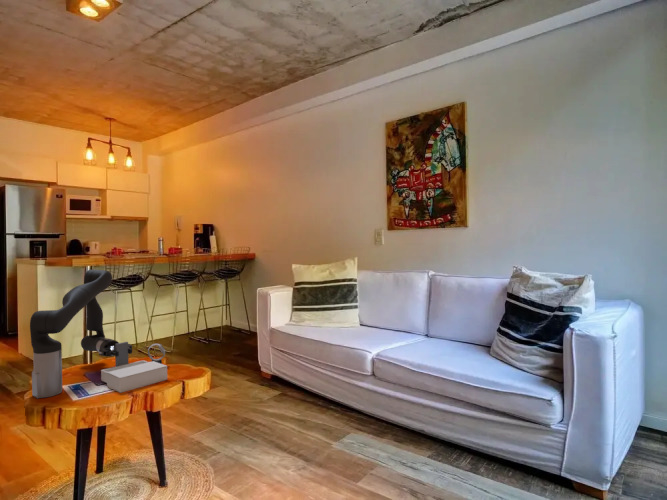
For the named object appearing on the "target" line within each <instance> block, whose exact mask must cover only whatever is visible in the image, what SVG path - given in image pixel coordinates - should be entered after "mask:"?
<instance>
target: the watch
mask: <svg viewBox="0 0 667 500" xmlns="http://www.w3.org/2000/svg"><path fill="white" fill-rule="evenodd" d="M154 346H157V348H158V350H159V351H160V352H161V353H162V356H161V357H159V358H153V356H152V355H151V353H150V349H151V348H152V347H154ZM166 352H167V351H166V349H165V348H164V347H163V344H162V343H153V344H151V345H150V346H149V347H148V348H147V355H148V357H149V359H150V360H151V362H152V361H154V362H157V363H160V364H163V361H162V359H163V358H164V357H165V355H166Z"/></svg>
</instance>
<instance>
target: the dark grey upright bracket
mask: <svg viewBox="0 0 667 500" xmlns="http://www.w3.org/2000/svg"><path fill="white" fill-rule="evenodd" d="M128 344H129V342H128V341H123V342H119V343H117V344H115V350H116V351H118V352H119V356H118V357H116V356H114V357H115V366H112V367H109V368H104V369H100V372H101V373H100V380H101V381H102V382H104V383H106V384H107V372H110V371H114V370H118V369H122V368H127V367H131V366H135V365H139V364H143V363H148V362H149V361H147V360H144V359H143V360H138V361H135V362H130V363H129V353H128Z"/></svg>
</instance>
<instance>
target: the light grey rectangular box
mask: <svg viewBox="0 0 667 500" xmlns="http://www.w3.org/2000/svg"><path fill="white" fill-rule="evenodd" d="M147 362H148V363H143V364H139V365H135V366H131V367H127V368H122V369H118V370H114V371H110V372H107V383H106V384H107V385H106V387H107V388H109V389H112V390H114V391H116V392H118V393H124V392H128V391H132V390H135V389H139V388H143V387H147V386H149V385H153V384H156V383H159V382H165V381H166V380H168V365H166V364H163V363H162V364H160V363H157V362H154V361H152V360H151V361H147Z"/></svg>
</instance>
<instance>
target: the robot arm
mask: <svg viewBox="0 0 667 500" xmlns="http://www.w3.org/2000/svg"><path fill="white" fill-rule="evenodd" d="M112 281H113V274H112V273H111V272H110V271H108V270H103V269H102V270H101V269H88V270H87V271H86V272H85V273H84V277H83V284H79V285H77V286H74V287H73V288H71V289H69V290H68V292H67V293H65V294H64V295H63V297H62V300H61V301H62V302H61V303H62V307H61V308H59V309H55V310H53V309H52V310H51V309H50V310H37V311H34V312H33V313H32V315H31V317H30V319H29V331H30V341H31V342H30V343H31V347H32V352H33V353H32V354H33V355H32V357H33V358H32V359H33V370H32V371H31V381H32V382H31V387H32V389H31V391H32V392H31V393H32V396H33V397H34V398H36V399H42V398H50V397H54V396H57V395H59V394H61V393H62V392H63V362H62V361H63V359H62V357H63V353H62V352H63V351H62V350H63V349H62V348H63V347H62V342H61V341H59V340H57V339H54V338H52V337H51V336H50V334H51V335H53V334H59V333H61V332H62V331H64V329H66V327H67V326H68V325H69V323H70V322H71V321H72V320H73V319H74V317H75V316H76V315H77V314H78V313H79V312H80V311H81V310H83V308H85V307H86V321H85V322H86V324H85V329H86V330H87V331H88V332H89V331H90V332H96V334H91V335H90V334H89V335H86V336H84V337H82V339H81V341H80V346H81V347H82V349H83V350H84V351H86V352H97V353H98V355H99V356H101V357H109V358H110V357H115V356H116V357H118V356H119V352H118V351H116V350H115V344H117V343H120V342H118V340H114V339H112V338H108V337H106V336H105V332H104V326H103V323H104V314H103V313H104V311H103V309H102V306H100V304H99V302H98V300H97V298H96V297H97V296H98V295H100V294H101V293H102V292H104V291H105V290H106V289H108V288H109V286H110V285H111V283H112ZM132 353H133V345H132V344H131V343H128V355H132Z"/></svg>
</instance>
